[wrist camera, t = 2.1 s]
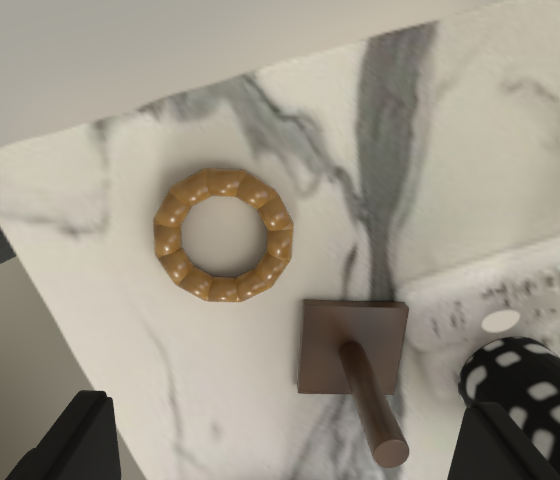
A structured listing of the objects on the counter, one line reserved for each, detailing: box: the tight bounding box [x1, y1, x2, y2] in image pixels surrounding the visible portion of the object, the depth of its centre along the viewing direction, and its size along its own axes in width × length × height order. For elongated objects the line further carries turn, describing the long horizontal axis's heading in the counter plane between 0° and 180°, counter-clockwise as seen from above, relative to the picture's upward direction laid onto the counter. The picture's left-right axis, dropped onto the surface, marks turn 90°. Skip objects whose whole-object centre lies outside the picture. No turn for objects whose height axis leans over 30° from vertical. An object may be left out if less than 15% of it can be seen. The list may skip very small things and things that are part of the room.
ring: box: [153, 168, 293, 302], centre depth 24 cm, size 10×10×2 cm
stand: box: [297, 300, 409, 468], centre depth 23 cm, size 8×8×10 cm
